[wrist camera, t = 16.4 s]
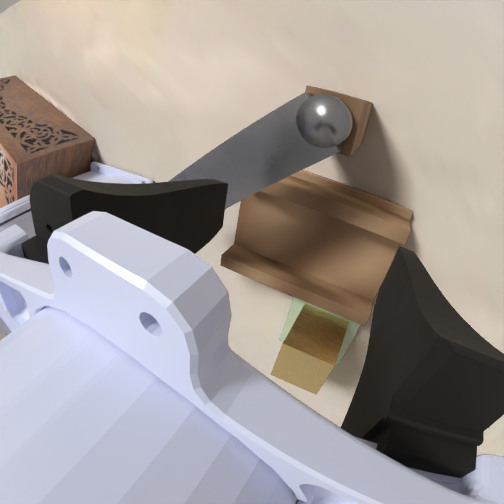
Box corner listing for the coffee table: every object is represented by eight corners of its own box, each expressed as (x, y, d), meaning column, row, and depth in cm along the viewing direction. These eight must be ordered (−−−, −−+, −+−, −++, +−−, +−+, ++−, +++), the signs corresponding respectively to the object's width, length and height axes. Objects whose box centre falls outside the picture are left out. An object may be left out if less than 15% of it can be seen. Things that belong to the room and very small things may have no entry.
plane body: (234, 256, 27) (197, 291, 22) (265, 76, 19) (222, 71, 14) (366, 310, 23) (353, 360, 19) (440, 128, 15) (457, 136, 11)
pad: (281, 335, 29) (279, 340, 28) (297, 287, 25) (295, 291, 25) (339, 360, 27) (337, 364, 26) (364, 315, 24) (363, 319, 23)
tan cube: (292, 335, 27) (270, 374, 23) (304, 303, 25) (282, 343, 21) (332, 352, 26) (316, 394, 22) (349, 321, 24) (334, 365, 20)
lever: (152, 197, 20) (140, 203, 19) (334, 81, 12) (328, 79, 11) (174, 235, 21) (163, 242, 20) (365, 138, 13) (363, 140, 12)
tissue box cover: (97, 138, 28) (16, 163, 21) (82, 233, 37) (23, 267, 29) (16, 75, 31) (-37, 88, 23) (9, 150, 40) (-37, 168, 32)
